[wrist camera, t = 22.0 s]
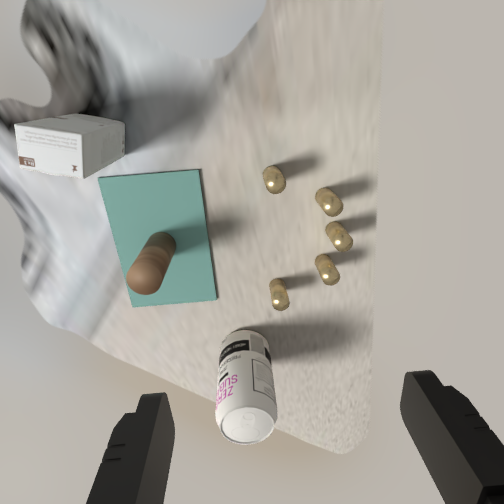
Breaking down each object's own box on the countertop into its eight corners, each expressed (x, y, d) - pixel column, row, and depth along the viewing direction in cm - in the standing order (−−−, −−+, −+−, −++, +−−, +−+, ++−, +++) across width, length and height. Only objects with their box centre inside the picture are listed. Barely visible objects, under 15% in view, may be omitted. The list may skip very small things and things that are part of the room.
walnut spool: (145, 232, 46) (122, 265, 37) (173, 230, 46) (158, 263, 37) (150, 258, 48) (130, 296, 39) (178, 256, 48) (164, 293, 39)
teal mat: (98, 177, 43) (97, 178, 43) (198, 169, 43) (198, 170, 43) (133, 305, 52) (132, 307, 51) (216, 298, 52) (216, 300, 52)
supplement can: (264, 366, 58) (273, 448, 45) (217, 363, 58) (212, 445, 44) (272, 329, 55) (284, 406, 41) (222, 325, 54) (217, 402, 41)
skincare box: (125, 121, 41) (85, 130, 30) (125, 158, 42) (87, 180, 31) (73, 112, 40) (11, 118, 29) (75, 150, 42) (17, 170, 31)
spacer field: (262, 166, 44) (265, 174, 39) (345, 159, 44) (357, 167, 39) (269, 292, 52) (272, 311, 47) (339, 286, 52) (349, 304, 47)
